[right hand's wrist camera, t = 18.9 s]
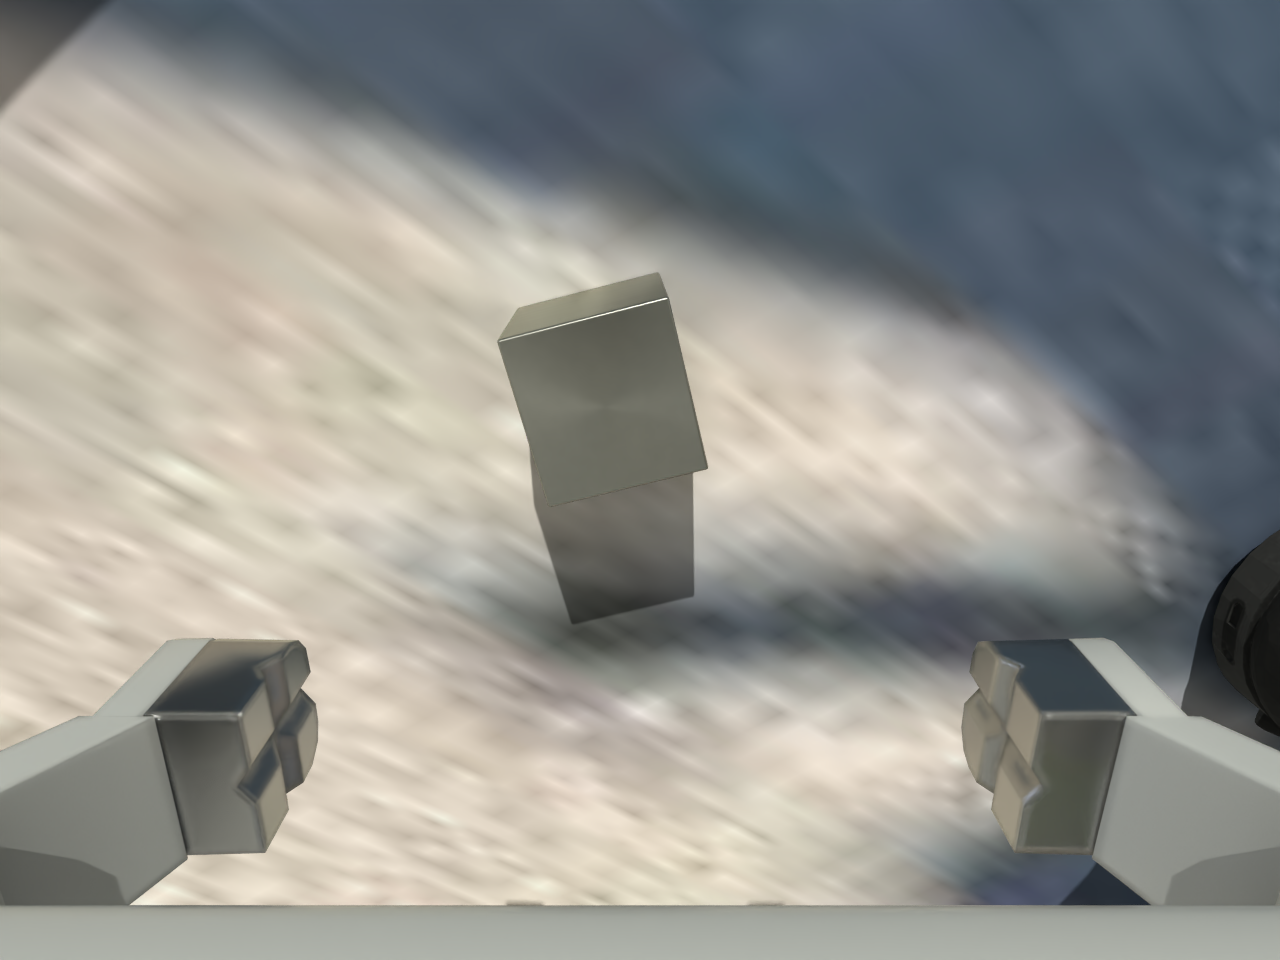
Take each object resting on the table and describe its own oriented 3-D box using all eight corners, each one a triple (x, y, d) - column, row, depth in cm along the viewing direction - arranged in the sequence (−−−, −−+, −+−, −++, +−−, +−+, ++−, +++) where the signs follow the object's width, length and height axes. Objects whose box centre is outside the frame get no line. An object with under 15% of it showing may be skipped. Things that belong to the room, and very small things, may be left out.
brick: (517, 307, 25) (496, 340, 21) (658, 271, 25) (668, 296, 20) (559, 449, 27) (548, 508, 22) (693, 417, 26) (708, 469, 22)
